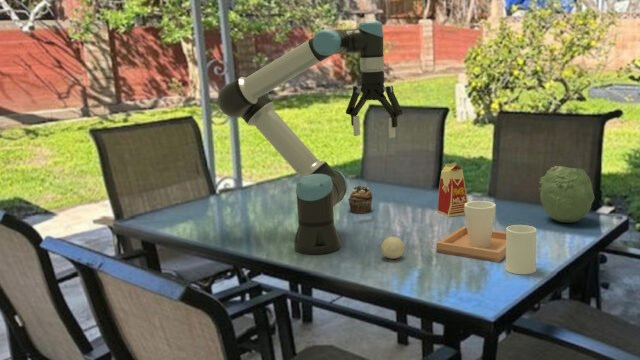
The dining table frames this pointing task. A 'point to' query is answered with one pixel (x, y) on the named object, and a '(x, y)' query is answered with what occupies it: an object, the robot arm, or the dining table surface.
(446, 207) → the milk carton
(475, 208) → the foam cup
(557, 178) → the cabbage
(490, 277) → the dining table surface
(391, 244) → the beige ball
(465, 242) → the tray
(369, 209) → the cupcake
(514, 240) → the mug
